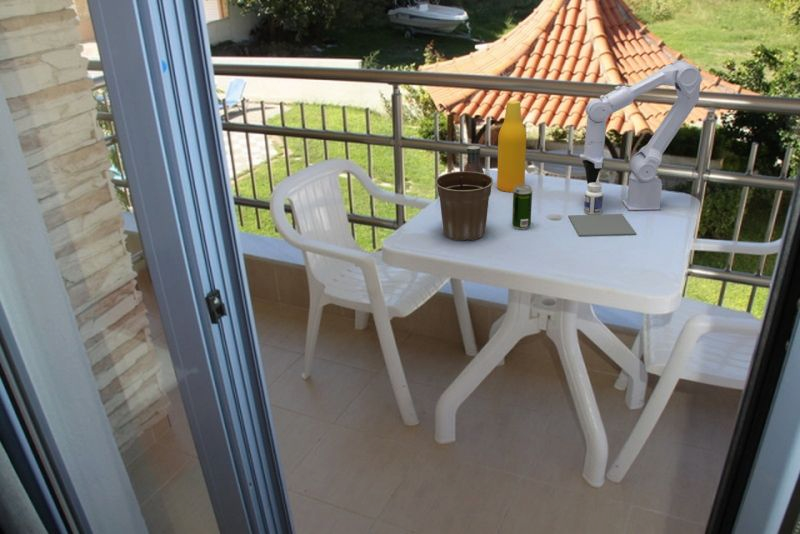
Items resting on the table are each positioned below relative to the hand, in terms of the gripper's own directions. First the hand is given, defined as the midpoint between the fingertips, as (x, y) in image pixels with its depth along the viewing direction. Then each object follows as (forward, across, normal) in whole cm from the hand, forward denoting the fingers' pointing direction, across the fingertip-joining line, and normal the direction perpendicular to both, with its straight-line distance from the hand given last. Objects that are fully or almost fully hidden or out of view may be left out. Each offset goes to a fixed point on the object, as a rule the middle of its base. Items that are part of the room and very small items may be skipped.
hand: (591, 183), depth 211 cm
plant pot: (+8, +19, -40) cm, 45 cm away
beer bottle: (+8, -19, -22) cm, 30 cm away
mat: (+7, +16, 0) cm, 17 cm away
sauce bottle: (+8, 0, -36) cm, 37 cm away
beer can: (+8, +15, -23) cm, 28 cm away
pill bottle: (+8, +5, 0) cm, 9 cm away
